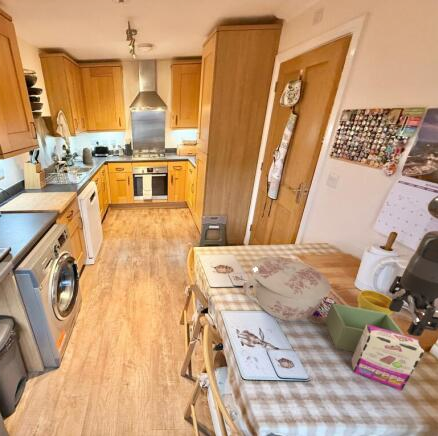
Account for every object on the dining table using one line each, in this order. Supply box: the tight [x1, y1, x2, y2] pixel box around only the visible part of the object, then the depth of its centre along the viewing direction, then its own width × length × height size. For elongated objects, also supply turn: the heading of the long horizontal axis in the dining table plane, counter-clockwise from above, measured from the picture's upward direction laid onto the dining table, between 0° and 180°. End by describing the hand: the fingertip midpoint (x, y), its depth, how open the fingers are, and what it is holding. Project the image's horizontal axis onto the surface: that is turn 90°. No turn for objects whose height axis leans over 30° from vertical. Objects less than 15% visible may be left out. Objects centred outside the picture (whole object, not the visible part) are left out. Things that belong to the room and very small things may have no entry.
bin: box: [324, 302, 405, 353], centre depth 81 cm, size 17×12×10 cm
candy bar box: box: [350, 324, 425, 391], centre depth 68 cm, size 11×5×16 cm, turn 59°
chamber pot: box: [242, 256, 332, 322], centre depth 94 cm, size 28×28×21 cm
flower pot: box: [356, 289, 395, 316], centre depth 89 cm, size 10×10×10 cm
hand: (402, 321), depth 63 cm, fingers open, 8 cm apart
